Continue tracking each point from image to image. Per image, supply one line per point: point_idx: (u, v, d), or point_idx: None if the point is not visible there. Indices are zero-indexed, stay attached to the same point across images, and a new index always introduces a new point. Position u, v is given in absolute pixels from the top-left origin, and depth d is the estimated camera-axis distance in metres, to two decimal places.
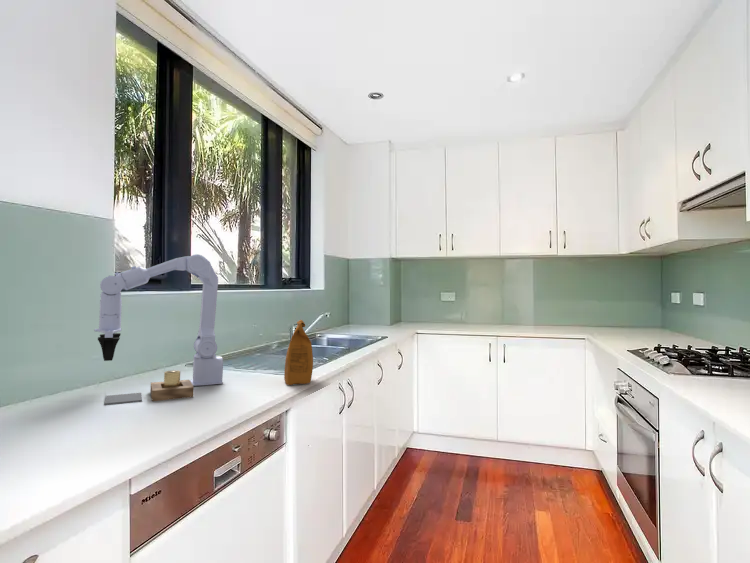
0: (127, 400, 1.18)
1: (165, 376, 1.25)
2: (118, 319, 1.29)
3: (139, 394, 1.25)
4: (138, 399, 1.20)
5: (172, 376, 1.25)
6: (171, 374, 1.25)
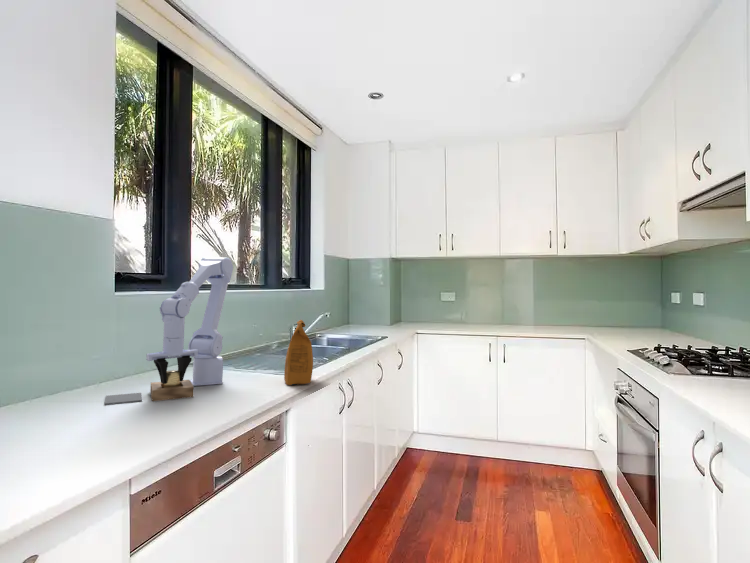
0: (127, 400, 1.18)
1: None
2: (170, 343, 1.25)
3: (139, 394, 1.25)
4: (138, 399, 1.20)
5: (172, 376, 1.25)
6: (171, 374, 1.25)
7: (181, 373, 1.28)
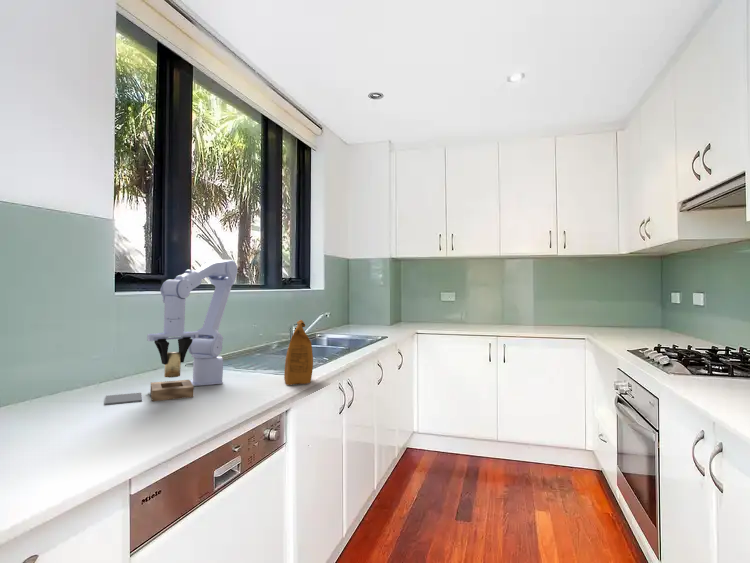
0: (127, 400, 1.18)
1: None
2: (171, 323, 1.25)
3: (139, 394, 1.25)
4: (138, 399, 1.20)
5: (172, 357, 1.25)
6: (172, 355, 1.25)
7: (182, 354, 1.28)
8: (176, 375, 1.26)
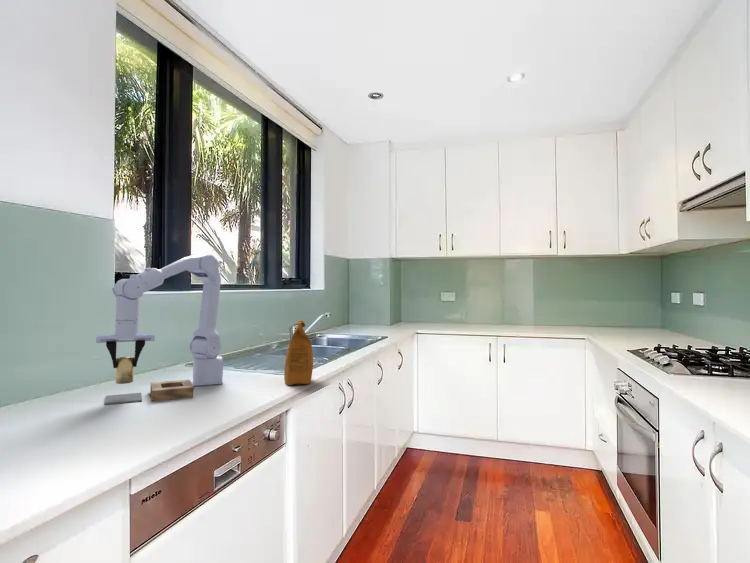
0: (127, 400, 1.18)
1: (116, 362, 1.19)
2: (119, 325, 1.18)
3: (139, 394, 1.25)
4: (138, 399, 1.20)
5: (121, 362, 1.19)
6: (121, 360, 1.19)
7: (134, 358, 1.21)
8: (125, 381, 1.19)
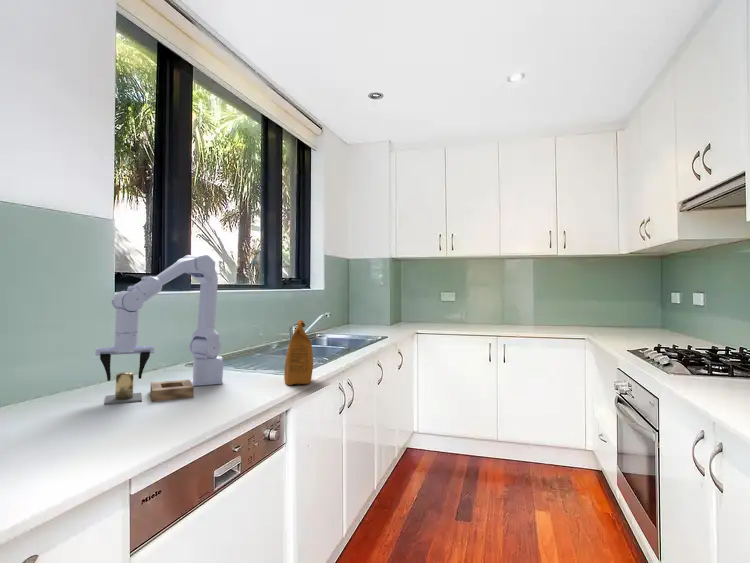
0: (127, 400, 1.18)
1: (116, 378, 1.19)
2: (119, 338, 1.18)
3: (139, 394, 1.25)
4: (138, 399, 1.20)
5: (121, 378, 1.19)
6: (120, 376, 1.19)
7: None
8: (125, 397, 1.19)
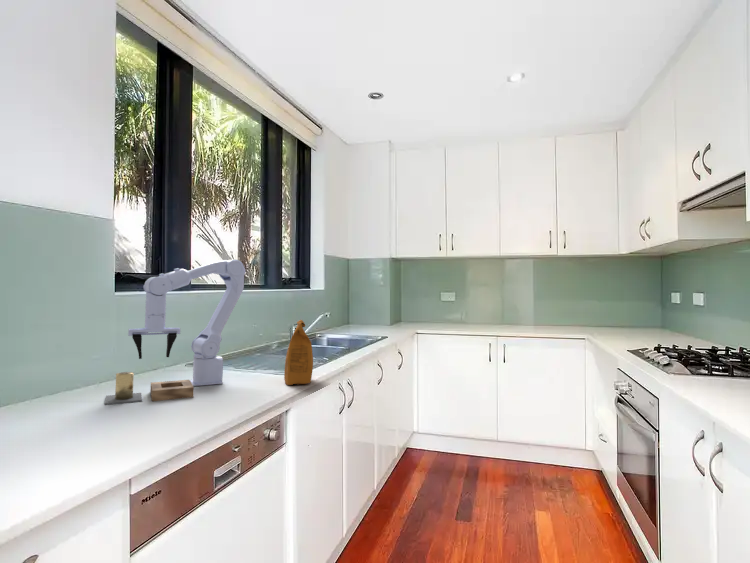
0: (127, 400, 1.18)
1: (116, 378, 1.20)
2: (149, 319, 1.29)
3: (139, 394, 1.25)
4: (138, 399, 1.20)
5: (121, 378, 1.19)
6: (120, 376, 1.19)
7: None
8: (125, 397, 1.19)
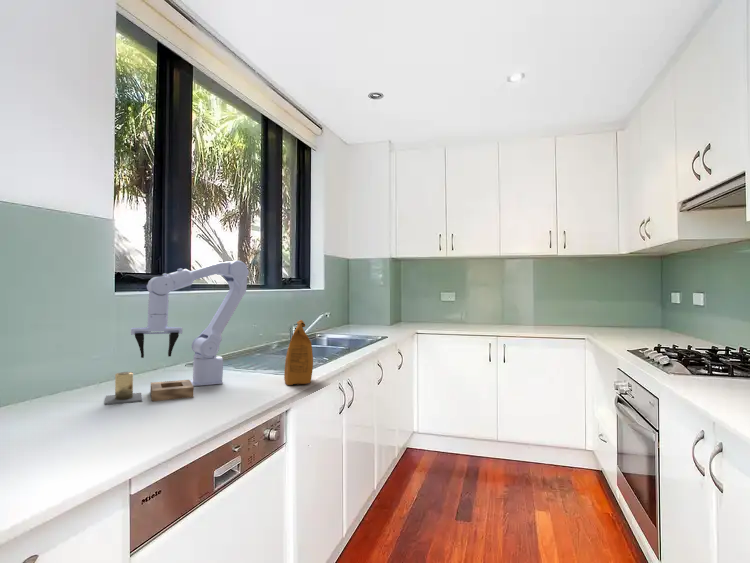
0: (127, 400, 1.18)
1: (115, 378, 1.19)
2: (151, 319, 1.30)
3: (139, 394, 1.25)
4: (138, 399, 1.20)
5: (120, 378, 1.19)
6: (119, 376, 1.18)
7: (169, 349, 1.34)
8: (125, 397, 1.19)
